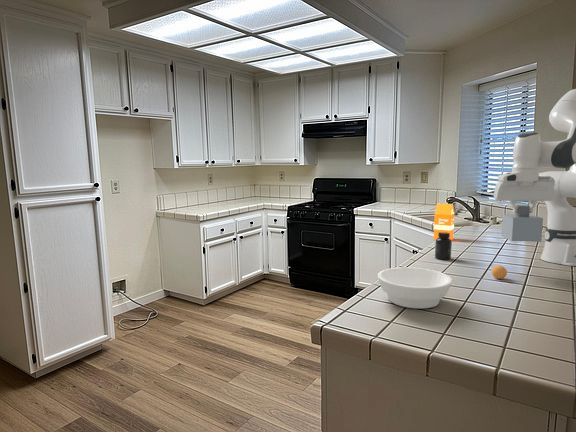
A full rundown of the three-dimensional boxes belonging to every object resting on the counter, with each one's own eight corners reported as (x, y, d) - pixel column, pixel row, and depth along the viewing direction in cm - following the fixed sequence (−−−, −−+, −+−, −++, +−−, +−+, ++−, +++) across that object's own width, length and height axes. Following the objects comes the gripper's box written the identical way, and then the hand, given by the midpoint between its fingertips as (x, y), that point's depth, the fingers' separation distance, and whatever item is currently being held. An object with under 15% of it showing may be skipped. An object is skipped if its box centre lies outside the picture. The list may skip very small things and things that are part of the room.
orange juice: (437, 237, 229) (438, 203, 226) (453, 238, 224) (455, 203, 221) (433, 239, 223) (434, 204, 220) (449, 241, 217) (451, 205, 215)
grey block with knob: (529, 236, 156) (531, 204, 155) (541, 241, 147) (543, 207, 145) (501, 236, 158) (503, 204, 156) (511, 241, 148) (513, 207, 146)
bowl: (443, 321, 111) (444, 292, 110) (366, 306, 123) (367, 280, 121) (457, 297, 130) (458, 272, 129) (389, 286, 142) (390, 264, 140)
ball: (503, 276, 151) (504, 264, 150) (508, 280, 146) (509, 267, 145) (489, 276, 152) (490, 263, 151) (494, 280, 147) (495, 267, 146)
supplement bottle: (452, 260, 176) (453, 234, 174) (436, 260, 177) (437, 233, 176) (449, 257, 183) (450, 231, 181) (433, 256, 184) (434, 231, 182)
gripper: (550, 175, 151) (548, 211, 152) (493, 176, 154) (491, 211, 156) (559, 176, 144) (556, 214, 146) (499, 176, 148) (497, 213, 149)
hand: (522, 212), depth 151 cm, fingers closed on grey block with knob, 3 cm apart
